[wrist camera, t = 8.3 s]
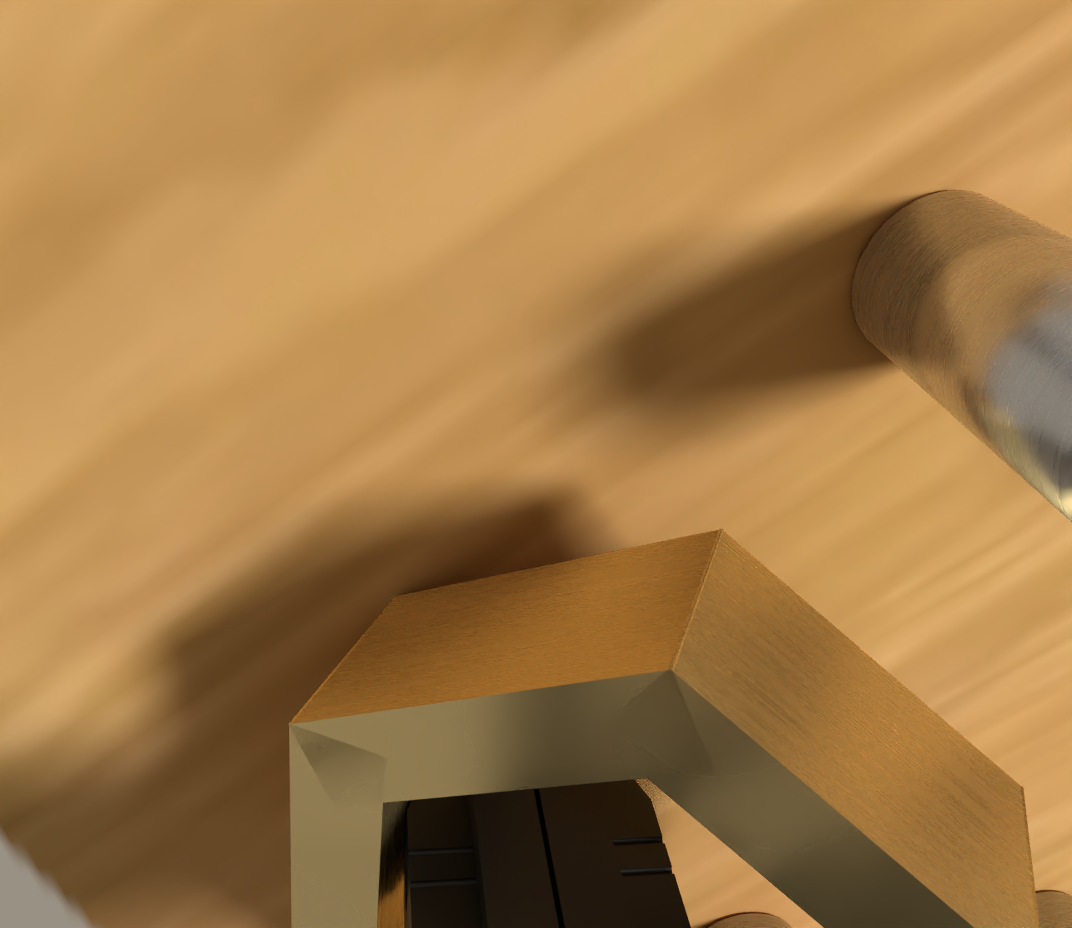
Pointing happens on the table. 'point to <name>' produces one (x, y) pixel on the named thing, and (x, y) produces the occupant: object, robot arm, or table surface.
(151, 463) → the table surface
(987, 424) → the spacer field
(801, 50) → the table surface
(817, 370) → the table surface
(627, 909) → the robot arm
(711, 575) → the tan hexagonal ring
